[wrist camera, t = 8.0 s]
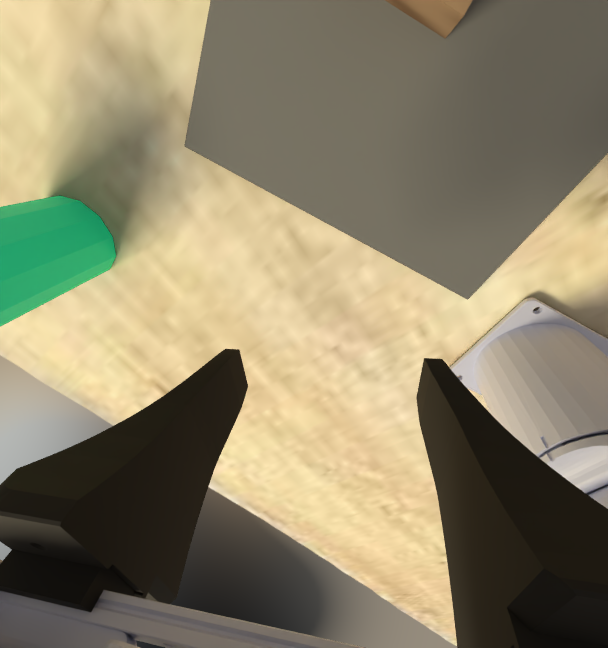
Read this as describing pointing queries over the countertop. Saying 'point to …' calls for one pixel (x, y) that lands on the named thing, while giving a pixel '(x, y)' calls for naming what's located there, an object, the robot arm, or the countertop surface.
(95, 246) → the candle
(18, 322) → the countertop surface
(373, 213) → the mat
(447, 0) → the tower base
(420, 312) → the countertop surface
